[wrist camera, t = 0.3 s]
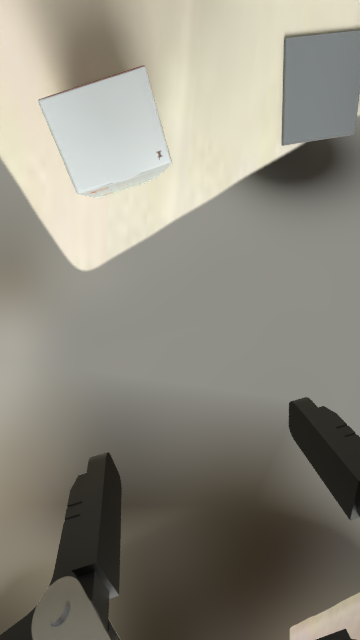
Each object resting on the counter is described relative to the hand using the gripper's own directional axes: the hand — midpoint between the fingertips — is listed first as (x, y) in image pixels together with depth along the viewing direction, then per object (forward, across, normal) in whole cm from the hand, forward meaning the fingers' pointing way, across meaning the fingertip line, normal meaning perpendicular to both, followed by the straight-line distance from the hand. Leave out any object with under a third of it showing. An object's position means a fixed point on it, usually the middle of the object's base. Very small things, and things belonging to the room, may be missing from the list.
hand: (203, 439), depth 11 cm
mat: (+29, -25, -17) cm, 42 cm away
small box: (+29, +1, -14) cm, 32 cm away
